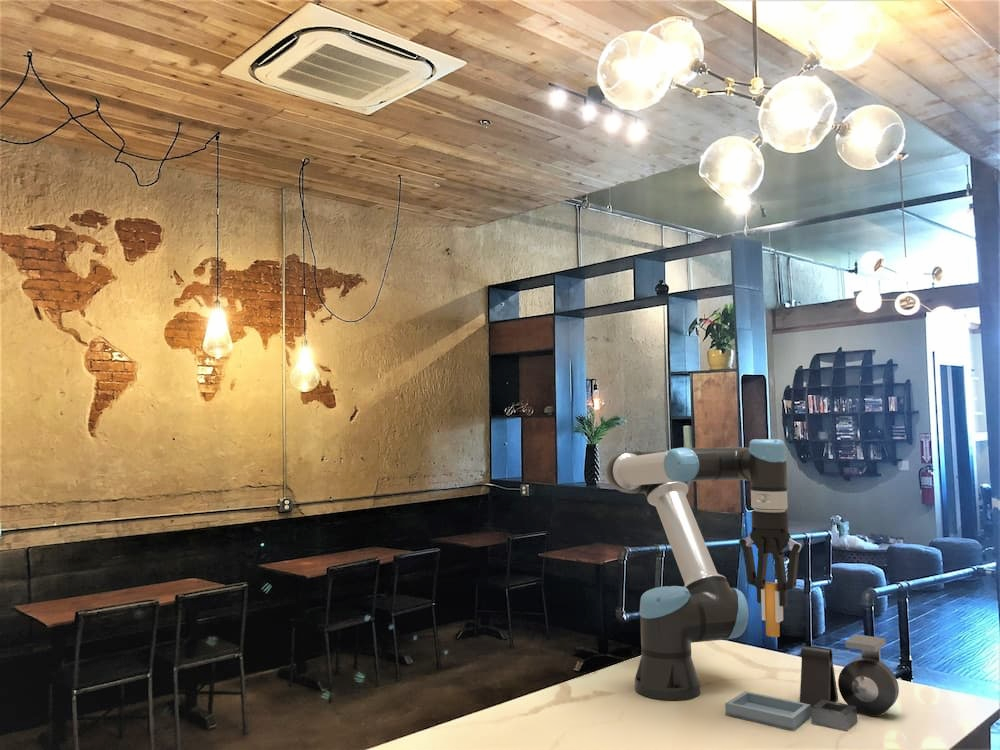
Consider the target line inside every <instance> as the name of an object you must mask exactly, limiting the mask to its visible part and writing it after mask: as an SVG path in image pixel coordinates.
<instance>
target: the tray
mask: <svg viewBox="0 0 1000 750" xmlns="http://www.w3.org/2000/svg"><path fill="white" fill-rule="evenodd" d="M724 707H725V716H727V717H732V718H736V719H740V720H744V721H749V722H752V723H757V724H762V725H767V726H770V727H774V728H779V729H783V730H787V731H792V732H794V731H795V730H797V729H798V728H799V727H800V726H802V725H803V724H804V723H806V722H807V721H808V720H809V719H811V708H812V707H811V705H810V704H805V703H800V701H799V702H798V701H795V700H790V699H786V698H780V697H776V696H770V695H765V694H761V693H756V692H751V691H748V690H747V691H746V690H745V691H743V692H741V693H740V694H738V695H736V696H735V697H733V698H731V699H730V700H728V701H726V702H725V704H724Z"/></svg>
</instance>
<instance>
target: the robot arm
mask: <svg viewBox="0 0 1000 750" xmlns="http://www.w3.org/2000/svg"><path fill="white" fill-rule="evenodd" d="M787 461H788V457H787V451H786V444H785V442H784V441H783V440H782V439H779V438H778V439H770V438H769V439H768V438H767V439H761V438H760V439H758V438H755V439H751V440H750V441H749V447H741V446H727V447H724V446H723V447H677V448H671V449H668V450H667V449H666V450H664V449H663V450H654V451H651V450H649V451H646V450H642V451H639V450H638V451H632V450H629V451H624V452H620V453H617V454H614V455H613V456H612V457H611V458H610V459H609V461H608V463H607V465H606V468H605V475H606V479H607V481H608V482H609V484H610V485H611V486H612V487H613V488H614V489H615V490H617V491H618V492H621V493H626V494H644V495H645V497H646V500H647V503H648V504H650V505H652V506H654V507H655V508H656V511H657V514H658V515H659V518H660V522H661V523H662V526H663V530H664V532H665V534H666V537H667V541H668V543H669V546H670V548H671V551H672V554H673V556H674V559H675V562H676V564H677V567H678V569H679V572H680V575H681V577H682V579H683V580H682V581H683V582H684V586H679V585H670V586H668V585H666V586H659V587H658V586H657V587H653V588H650V589H648V590H646V591H645V592H643V593H642V595H641V597H640V599H639V600H640V601H639V613H638V614H639V616H640V617H639V618H640V619H639V621H640V644H641V645H640V646H641V656H640V660H639V663H638V667H637V670H636V673H635V677H634V690H635V691H636V692H637V693H639V694H640V695H642V696H645V697H648V698H651V699H656V700H664V701H682V700H690V699H693V698H696V697H698V696H699V695H701V682H700V681H701V680H700V679H699V676H698V673H697V670H696V667H695V664H694V662H693V661H694V660H693V659H692V658H693V657H692V643H693V644H694V643H703V642H712V641H713V642H714V641H727V640H730V639H731V640H732V639H735V638H738V637H740V636H742V635H743V634H744V633H745V630H747V629H746V628H747V626H748V621H749V620H748V619H749V606H748V601H747V599H746V598H747V597H745V594H744V593H743V592H742V591H741V590H740V589H738V588H737V587H731V586H730V583H729V582H728V580H727V577H726V576H724V575H722V574H720V573H718V571H717V568H716V567H715V564H714V562H713V559H712V557H711V555H710V552H709V549H708V547H707V544H706V542H705V539H704V537H703V535H702V532H701V530H700V527H699V525H698V522H697V520H696V518H695V515H694V512H693V510H692V508H691V506H690V503H689V501H688V498H687V494H688V493H689V489H690V485H691V483H692V482H704V481H706V482H709V481H714V482H715V481H749V482H750V501H751V502H750V504H751V505H750V508H751V509H753V510H752V511H751V531H750V534H749V536H747V537H744V538H740V539H739V540H738V541H739V542H738V543H739V545H740V547H741V548H742V552H743V558H744V559H743V560H744V565H745V573H746V579H747V580H746V581H747V584H749V585H751V586H753V587H755V588H756V601H757V604H761V620H762V621H766V599H765V583H766V582H767V568H768V567H767V566H768V557H769V555H770V554H771V555H772V558H773V562H774V569H775V576H776V581H777V582H776V583H777V584H778V589H777V591H775V620H776V622H778V623H781V622H783V621H784V607H786V606H788V591H789V590H793V589H794V588H796V586H797V581H798V580H797V579H798V570H799V569H798V568H799V559H800V558H799V557H800V553H801V551H802V549H803V547H804V546H803V543H801V542H797V541H795V540H793V539H792V536H791V534H790V533H789V513H788V512H787V511H786V510H788V507H789V505H788V481H787V479H788V478H787V477H788V473H787V467H788V466H787ZM753 545H754V546H755V547H756V549H758V550H757V557H758V558H757V569H756V565H755V559H754V550H753V547H752V546H753ZM787 546H789V547H788V550H789V551H790V553H789V556H788V557H789V558H788V566H787V567H788V568H787V573H786V567H785V561H784V557H785V553H784V551H785V549H786V548H787ZM786 575H787V576H786Z"/></svg>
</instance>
